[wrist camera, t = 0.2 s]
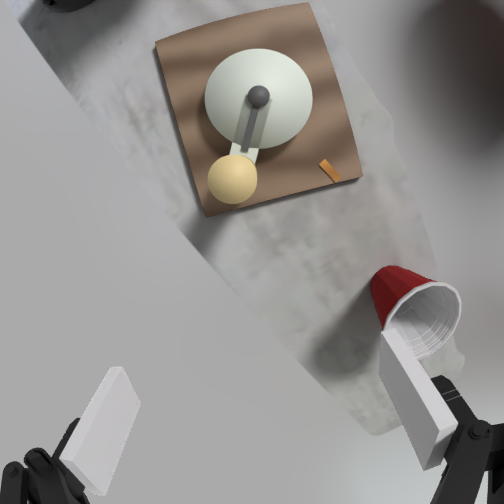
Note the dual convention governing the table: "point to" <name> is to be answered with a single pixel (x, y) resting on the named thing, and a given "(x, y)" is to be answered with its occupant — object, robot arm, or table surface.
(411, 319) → the plastic cup
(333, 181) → the base plate
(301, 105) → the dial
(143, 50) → the table surface
